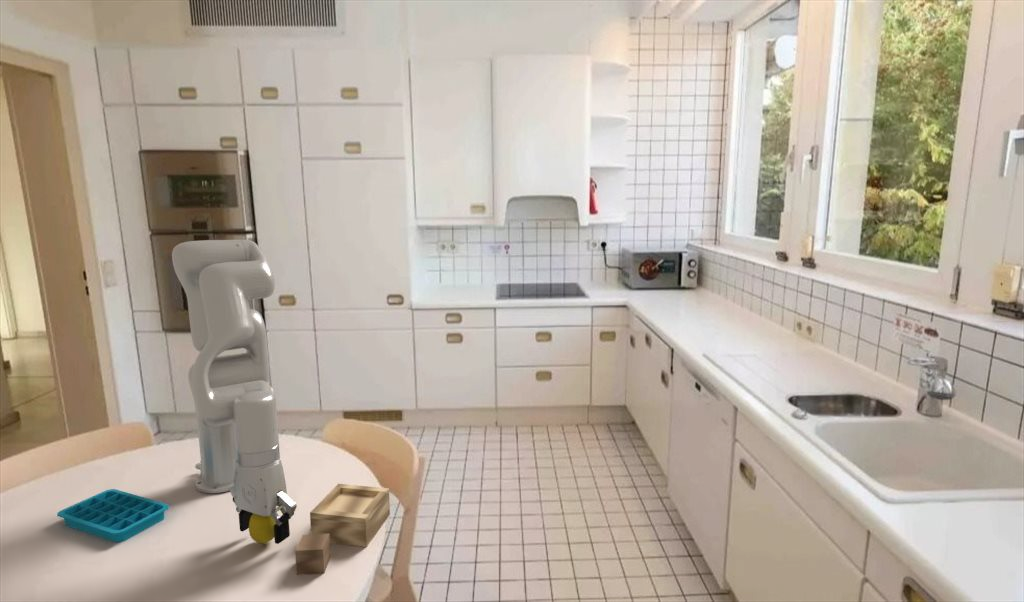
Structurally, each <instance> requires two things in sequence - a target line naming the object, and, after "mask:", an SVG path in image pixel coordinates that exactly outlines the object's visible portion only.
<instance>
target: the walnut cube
mask: <svg viewBox="0 0 1024 602" xmlns="http://www.w3.org/2000/svg"><path fill="white" fill-rule="evenodd" d="M294 552H295V553H294V554H295V568H296V572H295V573H296V575H297V576H299V575H317V574H325V573H326V569H327V567H328V565H329V561H330V559H331V557H332V556H331V543H330V534H329V533H328V534H311V533H310V534H302V536H301V538H300V540H299V542H298V544H297V546H296V548H295V549H294Z"/></svg>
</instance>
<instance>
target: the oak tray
mask: <svg viewBox="0 0 1024 602" xmlns="http://www.w3.org/2000/svg"><path fill="white" fill-rule="evenodd" d="M390 507H391V505H390V488H388V487H386V488H385V487H376V486H366V485H356V484H346V483H345V484H343V483H337V484H336V486H334V488H332V489H331V491H329V493H328V494H327V495H326V496H324V498H322V500H321V501H320V502H319V503H318V504H317V505H316V506H315V507H314V508H313V509H312V510H311V511H310V512H309V517H310V518H309V520H310V534H328V533H329V534H330V544H338V545H346V546H356V547H362V548H363V547H364V548H367V547H368V546H369V544H370V543H371V542H372V540H373V539H374V537H375V536H376V535H377V533H378V532H379V530H380V529H381V528H382V526H383V525H384V523H386V521H387V520H388V518H389V517H390V515H391V510H390V509H391V508H390Z"/></svg>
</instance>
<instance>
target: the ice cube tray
mask: <svg viewBox="0 0 1024 602" xmlns="http://www.w3.org/2000/svg"><path fill="white" fill-rule="evenodd" d="M169 508H170V505H169V504H168V503H164V502H161V501H157V500H155V499H151V498H147V497H144V496H140V495H137V494H133V493H130V492H127V491H122V490H120V489H115V488H111V489H106V490H104V491H101V492H99V493H97V494H95V495H93V496H90V497H88V498H86V499H84V500H81V501H80V502H77V503H75V504H73V505H70V506H68V507H65V508H63V509H61V510H59V511H58V512H56V513H57V514H56V515H57V517H59V518H62V519H63V521H64V525H65V526H67V527H69V528H73V529H76V530H78V531H81V532H86V533H88V534H91V535H93V536H96V537H100V538H103V539H106V540H108V541H112V542H115V543H122V542H125V541H127V540H129V539H131V538H133V537H135V536H136V535H138V534H140V533H141V532H144V531H145V530H148V529H149V528H151V527H153V526H155V525H156V524H158V523H160V522H162V521H163V520H165V511H167V510H169Z"/></svg>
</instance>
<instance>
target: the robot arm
mask: <svg viewBox="0 0 1024 602" xmlns="http://www.w3.org/2000/svg"><path fill="white" fill-rule="evenodd" d="M171 259H172V266H173V269H174V273H175V275H176V276H177V279H178V281H179V283H180V284H181V287H182V288H183V290H184V293H185V295H186V299H187V309H188V317H189V326H190V334H191V341H192V344H193V347H194V348H195V350H196V351H197V352H199V354H198V355H197V356H196V359H195V362H194V363H193V364H192V365H191V366H190V368H189V370H188V374H187V375H188V377H187V378H188V384H189V387H190V390H191V394H192V398H193V402H194V406H195V415H196V423H197V424H196V425H197V434H198V443H199V445H198V446H199V455H200V456H199V457H200V463H199V462H198V463H196V464H195V466H194V467H195V469H197V470H200V471H199V472H200V476H199V477H198V478H196V481H195V489H196V490H198V491H199V492H201V493H206V494H220V493H225V492H230V494H231V497H232V502H233V503H234V505H235V506H236V507H235V510H236V512H237V513H238V525H239V531H240V532H244V531H247V530H249V522H250V518H251V516H252V514H253V513H254V514H257V515H260V516H264V517H269V516H272V518H273V520H274V521H275V523H276V524H275V525H274V538H273V539H274V543H275V544H277V545H279V544H280V543H282V542H283V541H285V540H286V539H288V538H289V537H290V535H291V534H290V533H291V532H290V520H291V519H292V517H293V516H294V515H295V512H296V509H297V504H296V502H295V501H293V499H291V498H290V496H288V492H287V482H286V477H285V472H284V467H283V463H282V460H280V459H281V455H280V441H279V440H280V438H279V427H278V426H279V425H278V409H277V399H276V397H275V391H274V388H273V386H271V385H270V384H269V382H270V381H269V380H270V376H271V375H270V361H269V349H268V338H267V331H266V329H267V328H266V325H265V321H264V318H263V316H262V314H261V313H260V312H259V311H257V310H255V309H253V308H251V307H250V302H249V300H257V299H267V298H269V297H271V296H273V294H274V291H275V286H276V281H275V277H274V276H275V275H274V271H273V269H272V267H271V264H270V263H269V261H268V259H267V257H266V256H265V254H264V253H263V251H262V250H261V248H260V246H259V245H258V244H257V243H256V242H254V241H252V240H250V239H206V240H205V239H204V240H189V241H184V242H180V243H178V244H177V245H176V246H174V247H173V249H172V252H171ZM239 349H243V350H244V349H245V352H241V353H236V354H227V355H221V354H222V353H224V352H225V351H226V352H227V351H232V350H239ZM219 355H221V356H219ZM279 511H280V513H281V514H282V515H281V516H280V515H279V514H278V512H279Z"/></svg>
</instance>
